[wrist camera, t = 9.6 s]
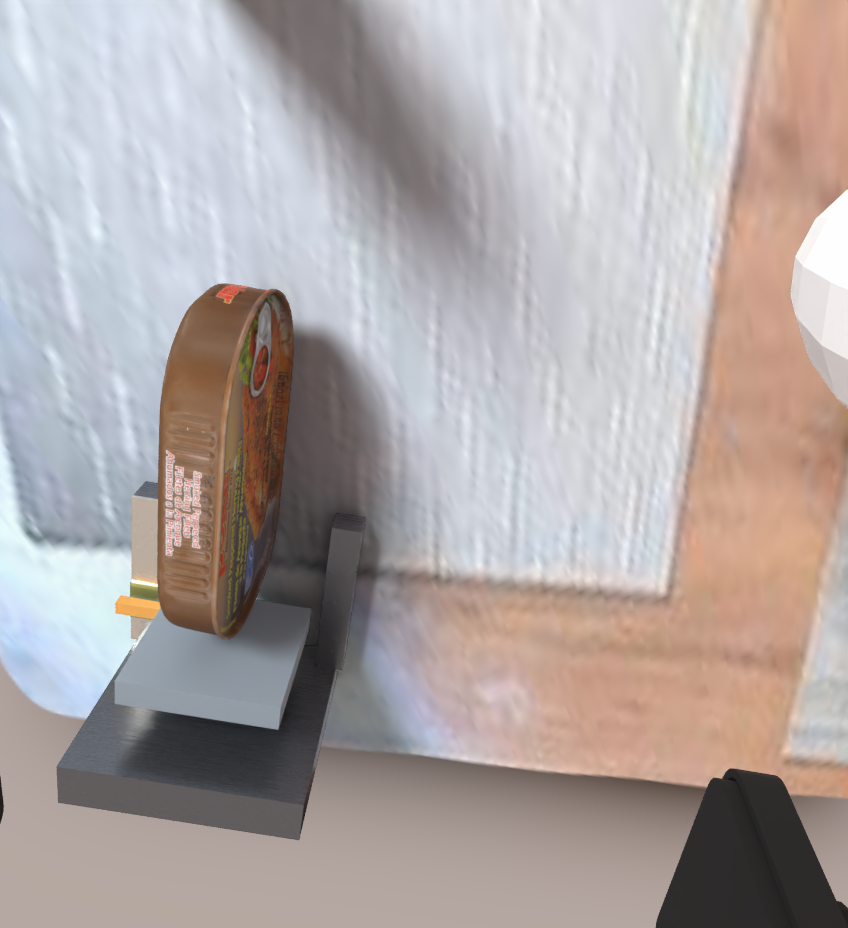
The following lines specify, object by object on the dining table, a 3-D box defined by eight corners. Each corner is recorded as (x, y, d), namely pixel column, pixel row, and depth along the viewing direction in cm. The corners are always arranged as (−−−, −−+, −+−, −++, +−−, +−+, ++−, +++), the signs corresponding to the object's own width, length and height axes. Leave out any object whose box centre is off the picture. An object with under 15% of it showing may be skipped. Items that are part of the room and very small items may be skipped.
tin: (273, 573, 39) (226, 685, 31) (211, 563, 39) (148, 673, 31) (302, 272, 33) (252, 319, 25) (228, 260, 33) (155, 302, 25)
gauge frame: (365, 517, 37) (333, 646, 28) (341, 681, 41) (306, 841, 32) (145, 481, 37) (40, 599, 28) (143, 649, 41) (50, 801, 32)
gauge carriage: (311, 608, 38) (280, 707, 32) (309, 628, 38) (278, 729, 32) (129, 579, 38) (60, 672, 31) (128, 599, 38) (61, 695, 32)
